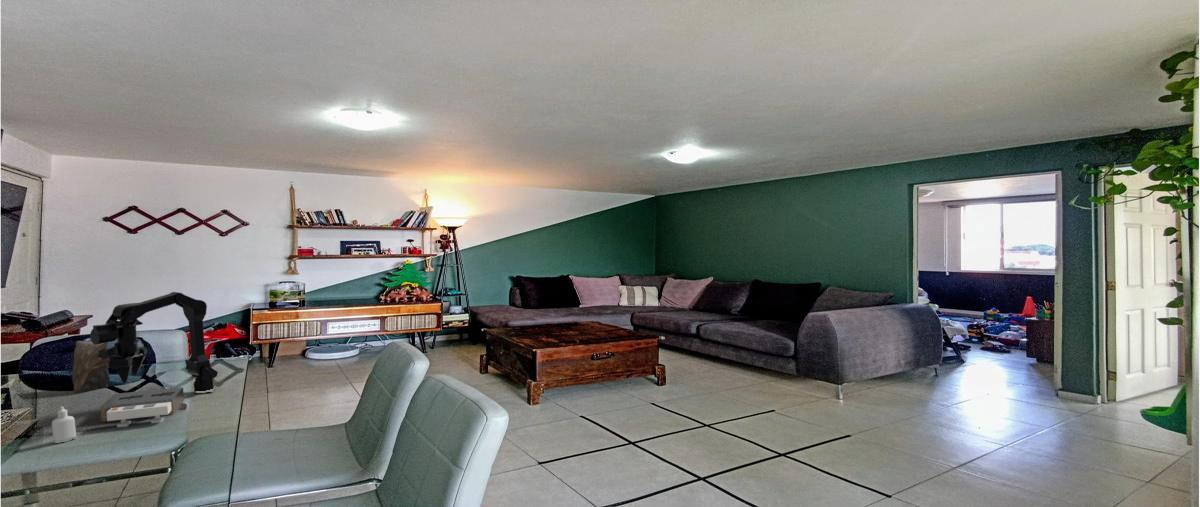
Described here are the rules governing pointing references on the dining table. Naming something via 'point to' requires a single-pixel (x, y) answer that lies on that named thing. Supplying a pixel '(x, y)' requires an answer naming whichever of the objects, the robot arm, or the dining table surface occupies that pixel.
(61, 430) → the eye dropper bottle
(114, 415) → the power strip
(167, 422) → the dining table surface
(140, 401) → the keyhole board
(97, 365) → the brown paper bag
